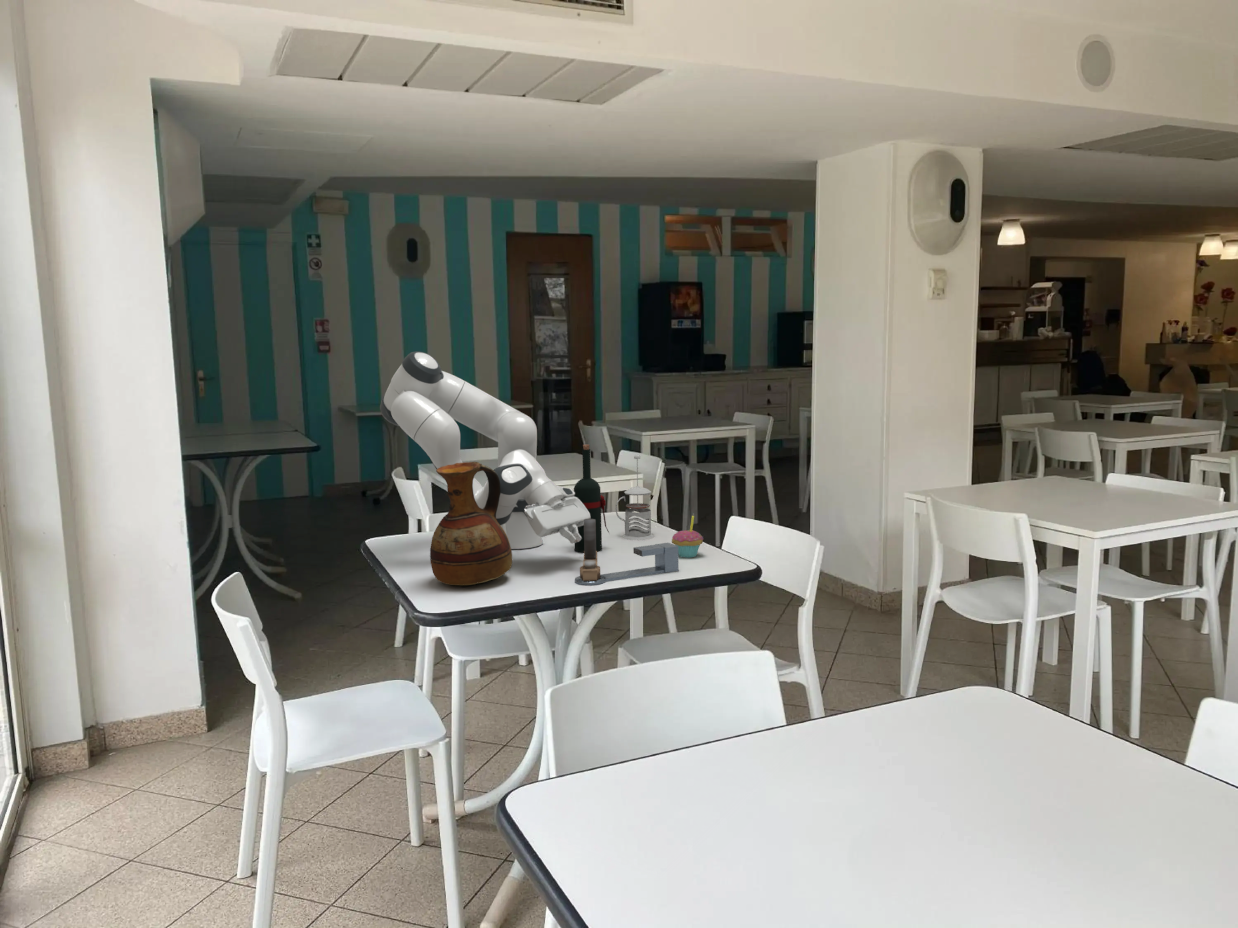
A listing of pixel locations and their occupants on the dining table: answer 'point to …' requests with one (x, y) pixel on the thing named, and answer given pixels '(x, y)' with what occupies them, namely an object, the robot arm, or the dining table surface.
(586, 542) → the walnut link
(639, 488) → the french press
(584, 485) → the wine bottle
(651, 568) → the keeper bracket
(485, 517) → the ceramic pitcher
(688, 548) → the cupcake
